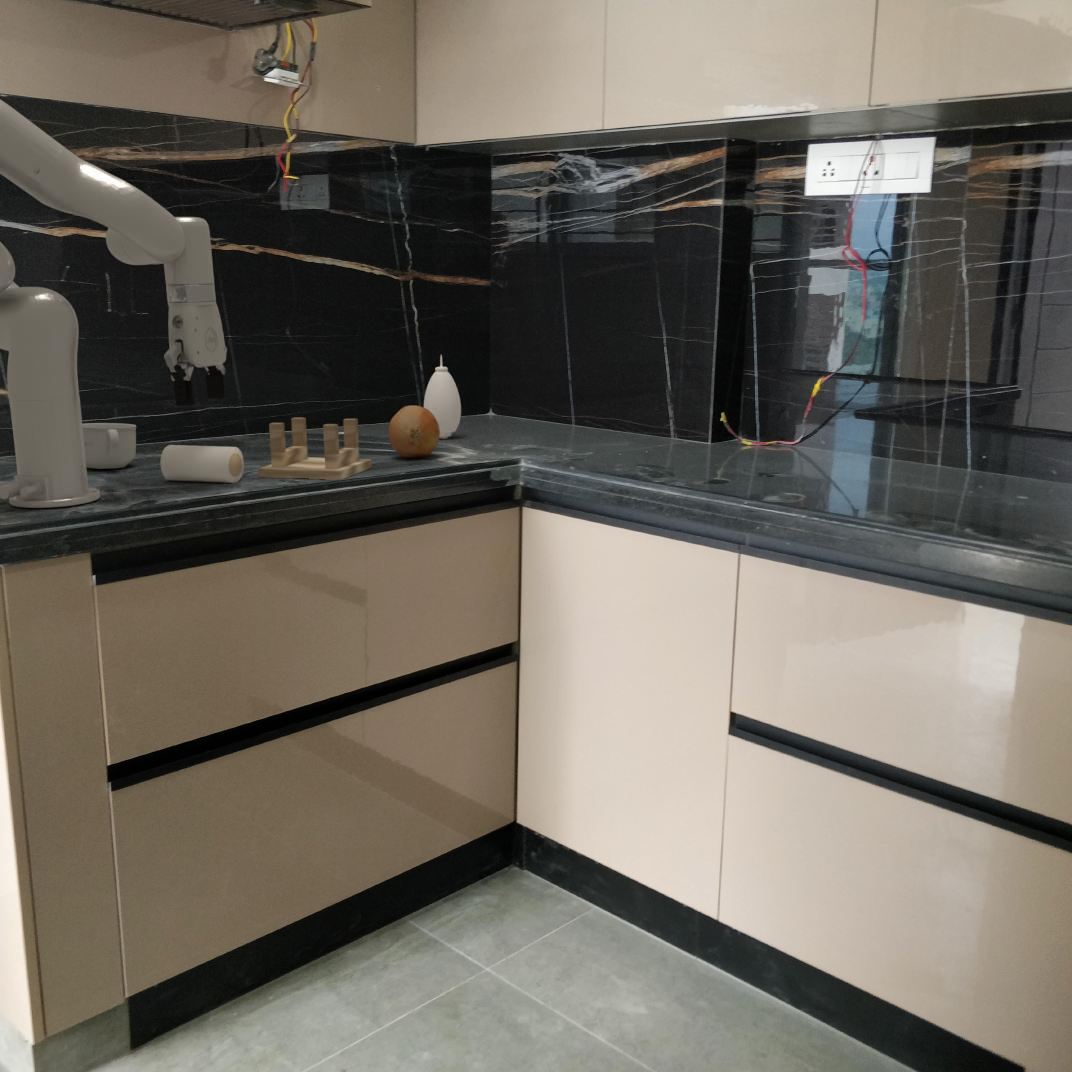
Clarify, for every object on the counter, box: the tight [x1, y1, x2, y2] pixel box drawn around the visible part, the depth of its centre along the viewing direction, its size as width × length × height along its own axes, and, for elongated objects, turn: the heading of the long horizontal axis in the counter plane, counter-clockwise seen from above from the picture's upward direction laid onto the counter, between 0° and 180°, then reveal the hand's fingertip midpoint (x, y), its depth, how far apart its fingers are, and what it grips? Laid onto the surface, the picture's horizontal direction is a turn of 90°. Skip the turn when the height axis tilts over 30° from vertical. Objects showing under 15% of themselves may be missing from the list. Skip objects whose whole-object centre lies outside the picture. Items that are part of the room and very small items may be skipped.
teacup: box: [82, 422, 137, 470], centre depth 192 cm, size 14×11×8 cm
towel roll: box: [159, 444, 245, 484], centre depth 179 cm, size 6×12×6 cm, turn 76°
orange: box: [387, 405, 440, 459], centre depth 203 cm, size 10×10×10 cm
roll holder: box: [257, 416, 372, 481], centre depth 187 cm, size 14×15×9 cm
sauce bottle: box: [423, 354, 462, 440], centre depth 230 cm, size 8×8×18 cm
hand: (201, 401), depth 177 cm, fingers open, 9 cm apart
